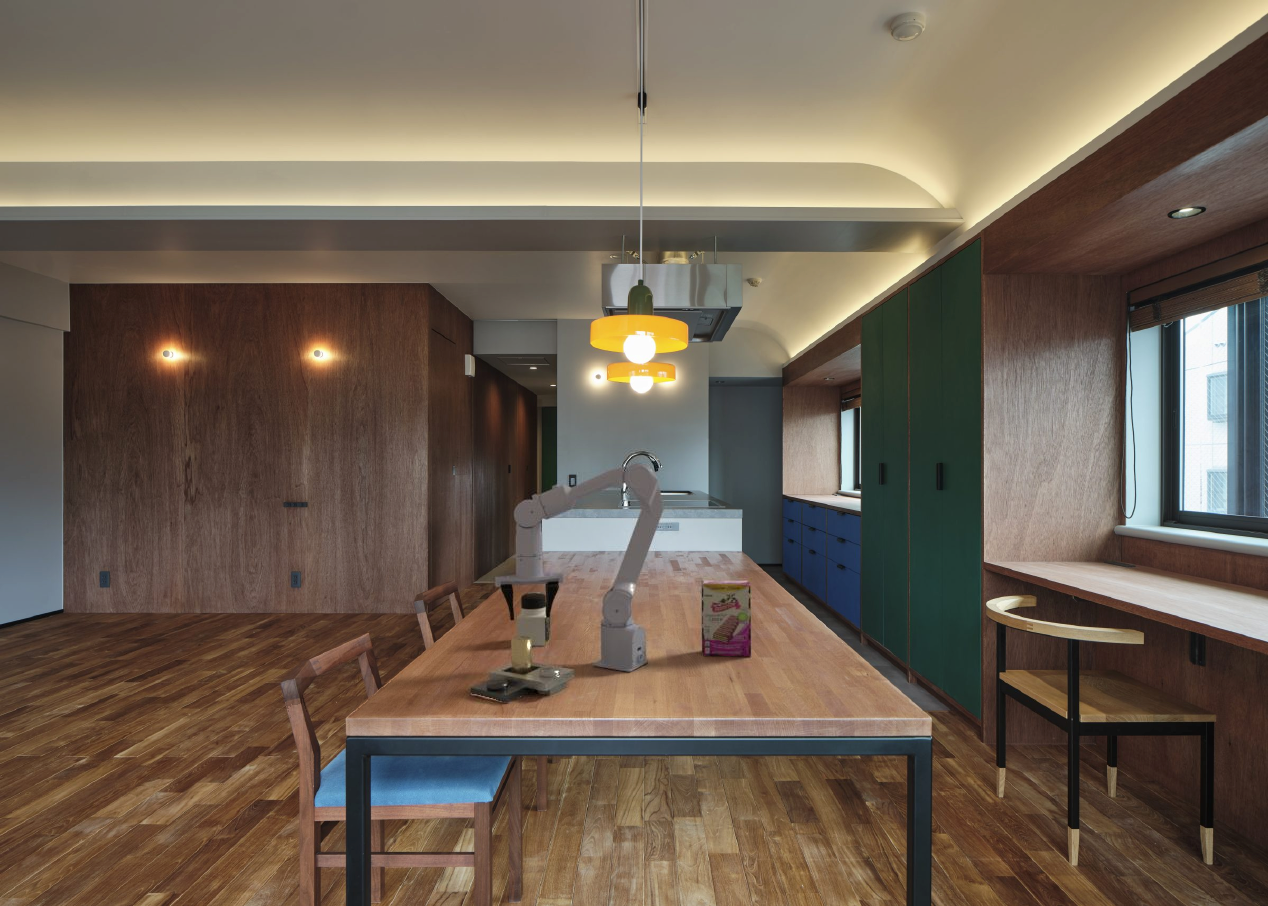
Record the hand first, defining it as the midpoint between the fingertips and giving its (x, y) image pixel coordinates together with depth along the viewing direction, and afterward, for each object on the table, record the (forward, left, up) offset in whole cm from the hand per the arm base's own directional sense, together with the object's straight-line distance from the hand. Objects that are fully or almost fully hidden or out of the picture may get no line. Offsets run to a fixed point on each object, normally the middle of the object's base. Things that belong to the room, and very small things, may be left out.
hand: (530, 618), depth 139 cm
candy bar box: (-34, -28, -11) cm, 45 cm away
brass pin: (-6, +10, -10) cm, 16 cm away
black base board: (-6, +12, -10) cm, 17 cm away
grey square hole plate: (-9, +10, -10) cm, 17 cm away
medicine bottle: (+12, -16, -11) cm, 23 cm away
